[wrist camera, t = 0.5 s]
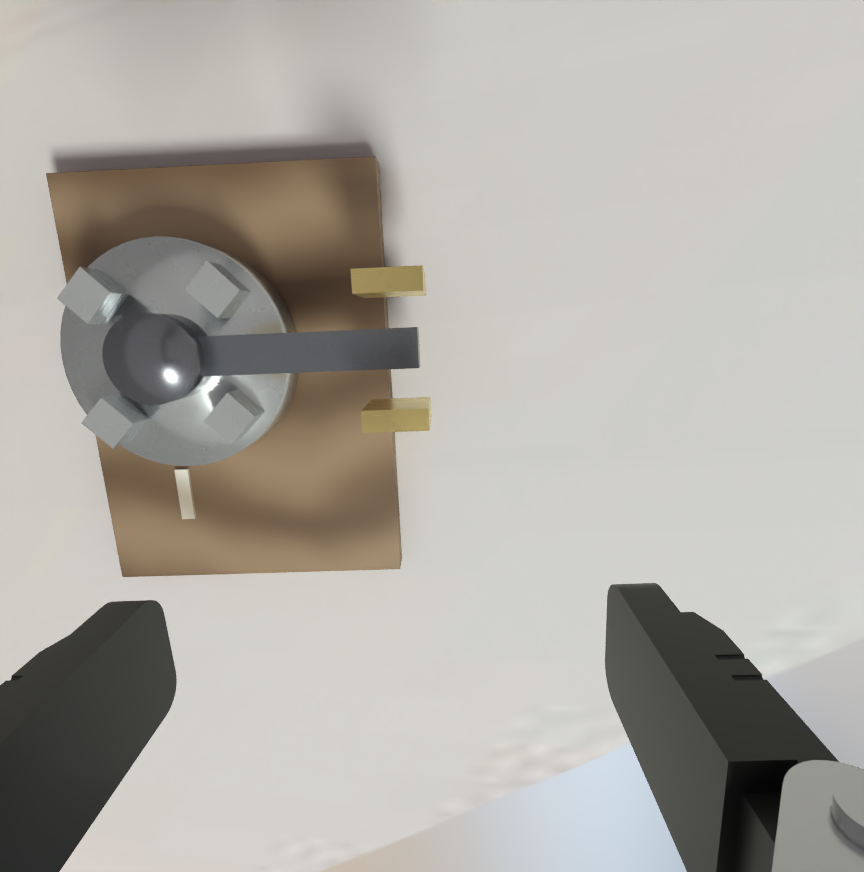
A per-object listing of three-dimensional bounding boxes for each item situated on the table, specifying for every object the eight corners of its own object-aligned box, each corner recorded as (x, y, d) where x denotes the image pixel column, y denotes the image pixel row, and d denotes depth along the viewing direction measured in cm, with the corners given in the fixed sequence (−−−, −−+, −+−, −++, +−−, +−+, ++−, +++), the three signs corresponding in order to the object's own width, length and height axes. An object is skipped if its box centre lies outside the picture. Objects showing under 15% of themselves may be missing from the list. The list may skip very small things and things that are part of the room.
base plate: (66, 181, 29) (43, 172, 27) (378, 165, 28) (374, 155, 27) (136, 566, 34) (120, 578, 32) (401, 558, 33) (399, 570, 32)
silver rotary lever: (74, 249, 28) (-50, 223, 21) (425, 232, 27) (419, 200, 20) (112, 458, 30) (13, 498, 23) (434, 446, 30) (431, 484, 23)
